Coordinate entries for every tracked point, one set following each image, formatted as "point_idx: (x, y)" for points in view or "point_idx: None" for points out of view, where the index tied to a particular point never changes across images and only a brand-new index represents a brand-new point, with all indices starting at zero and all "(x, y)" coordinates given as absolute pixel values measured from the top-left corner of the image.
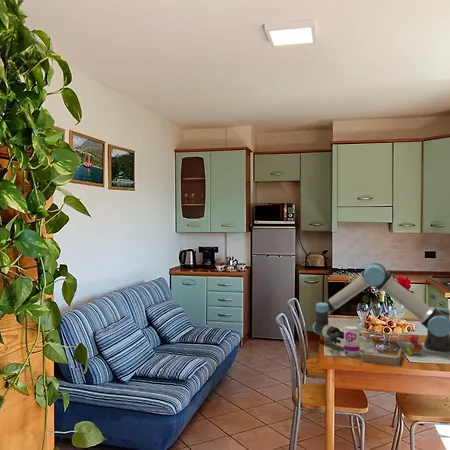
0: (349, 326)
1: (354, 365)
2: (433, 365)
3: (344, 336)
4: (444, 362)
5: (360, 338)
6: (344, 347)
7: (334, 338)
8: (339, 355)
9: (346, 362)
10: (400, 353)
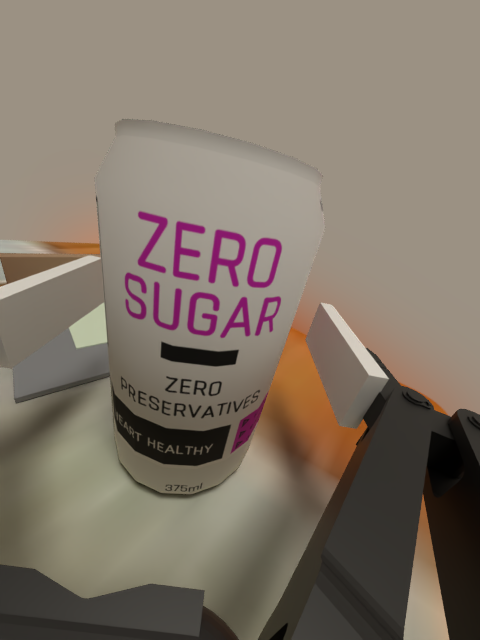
0: (175, 136)
1: (298, 336)
2: (81, 250)
3: (295, 311)
4: (22, 241)
5: (61, 300)
6: (259, 414)
7: (425, 408)
8: (294, 472)
9: (314, 365)
10: (98, 254)
